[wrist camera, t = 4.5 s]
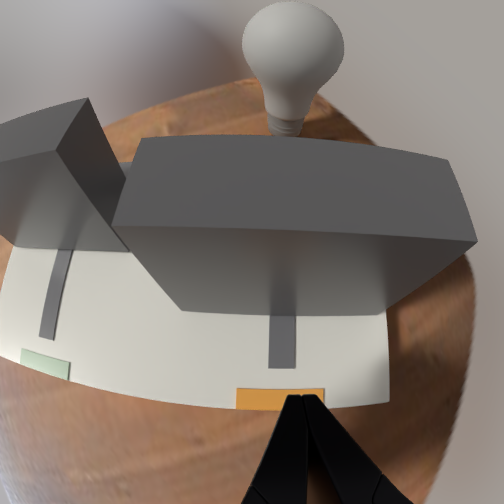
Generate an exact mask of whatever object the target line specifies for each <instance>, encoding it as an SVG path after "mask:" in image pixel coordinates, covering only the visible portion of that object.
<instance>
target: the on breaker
mask: <svg viewBox="0 0 504 504" xmlns="http://www.w3.org/2000/svg"><path fill="white" fill-rule="evenodd" d="M125 181H126V177H125V175H124V173H123V171H122V169H121V167H120V165H119V163H118V161H117V159H116V157H115V155H114V153H113V151H112V149H111V147H110V145H109V142H108V140H107V138H106V136H105V134H104V132H103V130H102V127H101V125H100V123H99V121H98V119H97V116H96V114H95V112H94V110H93V107H92V105H91V103H90V100H89V98H83V99H80V100H75V101H71V102H67V103H63V104H60V105H56V106H53V107H49V108H46V109H43V110H39V111H36V112H33V113H30V114H27V115H24V116H21V117H18V118H16V119H13V120H10V121H8V122H5V123H3V124H0V234H1V235H2V236H3V237H4V238H5V239H7V240H8V241H9V242H10V243H12V244H13V245H14V246H15V247H24V248H47V249H70V250H93V251H118V252H129V251H130V249H129V248H128V247H127V246H126V244H125V243H124V242H123V241H122V239H121V238H120V237H119V235H118V234H117V233H116V231H115V230H114V229H113V228H112V226H111V225H112V222H113V218H114V215H115V212H116V208H117V205H118V202H119V199H120V196H121V193H122V190H123V187H124V184H125Z"/></svg>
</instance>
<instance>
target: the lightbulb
mask: <svg viewBox="0 0 504 504" xmlns="http://www.w3.org/2000/svg"><path fill="white" fill-rule="evenodd" d="M242 49H243V53H244V56H245V59H246V61H247V63H248V65H249V66H250V68H251V70H252V72H253V73H254V74H255V76H256V77H257V79H258V80H259V82H260V84H261V86H262V89H263V93H264V98H265V108H266V110H267V112H268V129H269V131H270V133H272V134H273V135H274V136H286V137H297V136H298V135H299V134H300V132H301V129H302V126H303V122H304V118H305V116H306V115H307V114H308V112H309V109H310V105H311V102H312V100H313V98H314V96H315V94H316V93H317V91H318V90H319V89H320V88H321V87H322V86H323V85H324V84H325V83H326V82H327V81H328V80H329V79H330V78H331V77H332V76H333V75H334V74H335V73H336V72H337V70H338V68H339V66H340V64H341V62H342V60H343V56H344V42H343V37H342V34H341V32H340V30H339V28H338V26H337V25H336V23H335V22H334V21H333V19H332V18H331V17H330V16H329V15H327V14H326V13H325V12H323V11H322V10H320V9H319V8H317V7H315V6H313V5H310V4H307V3H303V2H298V1H283V2H278V3H275V4H271V5H269V6H267V7H265V8H263V9H261V10H260V11H259V12H258V13H256V14H255V15H254V16H253V18H252V19H251V20H250V21H249V23H248V24H247V26H246V28H245V31H244V35H243V40H242Z"/></svg>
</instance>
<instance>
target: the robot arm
mask: <svg viewBox="0 0 504 504" xmlns="http://www.w3.org/2000/svg"><path fill="white" fill-rule="evenodd" d="M241 504H413V503H412V502H411V501H410V500H409V499H408V498H406V497H405V496H404V495H403V494H402V493H401V492H400V491H399V490H398V489H397V488H396V487H395V486H394V485H393V484H392V483H391V482H390V481H389V479H388V478H387V477H386V476H385V475H384V474H382V472H381V471H380V469H379V468H378V467H377V466H376V465H375V464H374V463H373V461H372V460H371V459H370V458H369V457H368V456H367V454H366V453H365V452H364V451H363V450H362V449H361V447H360V446H359V445H358V444H357V443H356V442H355V440H354V439H353V438H352V437H351V436H350V435H349V433H348V432H347V431H346V430H345V429H344V427H343V426H342V425H341V424H340V423H339V421H338V420H337V419H336V418H335V417H334V415H333V414H332V413H331V412H330V410H329V409H328V408H327V407H326V406H325V404H324V403H323V402H322V401H321V399H320V398H319V397H318V396H317V395H316V394H303V395H302V396H301V395H300V394H288V395H287V396H286V399H285V402H284V404H283V407H282V409H281V412H280V415H279V417H278V420H277V422H276V425H275V428H274V430H273V433H272V435H271V438H270V440H269V442H268V445H267V447H266V450H265V452H264V454H263V457H262V459H261V461H260V464H259V466H258V468H257V471H256V473H255V475H254V477H253V479H252V482H251V484H250V486H249V488H248V490H247V492H246V494H245V496H244V498H243V500H242V502H241Z"/></svg>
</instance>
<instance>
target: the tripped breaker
mask: <svg viewBox="0 0 504 504" xmlns="http://www.w3.org/2000/svg"><path fill="white" fill-rule="evenodd" d="M111 226H112V228H113V229H114V230H115V231H116V233H117V234H118V235H119V237H120V238H121V239H122V241H123V242H124V243H125V244H126V246H127V247H128V248H129V249H130V251H131V252H132V253H133V254H134V256H135V257H136V258H137V259H138V261H139V262H140V263H141V264H142V266H143V267H144V268H145V269H146V270H147V272H148V273H149V274H150V275H151V276H152V278H153V279H154V280H155V281H156V282H157V284H158V285H159V286H160V287H161V288H162V289H163V290H164V292H165V293H166V294H167V295H168V296H169V297H170V299H171V300H172V301H173V302H174V303H175V304H176V305H177V306H178V308H179V309H180V310H181V311H188V312H203V313H220V314H241V315H269V316H368V315H378V314H379V313H381V312H383V311H384V310H386V309H387V308H389V307H390V306H392V305H393V304H395V303H396V302H398V301H399V300H401V299H402V298H404V297H405V296H407V295H408V294H410V293H411V292H413V291H414V290H416V289H417V288H418V287H420V286H421V285H423V284H424V283H425V282H427V281H428V280H430V279H431V278H432V277H434V276H435V275H436V274H438V273H439V272H440V271H442V270H443V269H444V268H446V267H447V266H448V265H450V264H451V263H452V262H454V261H455V260H456V259H457V258H459V257H460V256H461V255H462V254H464V253H465V252H466V251H467V250H469V249H470V248H471V247H472V246H473V245H475V244H476V243H477V242H478V241H477V237H476V234H475V230H474V227H473V224H472V221H471V218H470V215H469V212H468V209H467V206H466V203H465V201H464V198H463V195H462V193H461V190H460V188H459V185H458V183H457V180H456V178H455V175H454V173H453V171H452V168H451V166H450V164H449V162H448V160H445V159H441V158H437V157H432V156H428V155H423V154H418V153H413V152H408V151H403V150H397V149H391V148H385V147H379V146H373V145H366V144H358V143H351V142H343V141H334V140H324V139H313V138H301V137H286V136H265V135H186V136H166V137H151V138H141V141H140V143H139V146H138V148H137V151H136V154H135V156H134V159H133V161H132V164H131V167H130V170H129V172H128V175H127V178H126V181H125V184H124V187H123V190H122V193H121V196H120V199H119V202H118V205H117V208H116V212H115V215H114V218H113V222H112V225H111Z"/></svg>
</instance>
